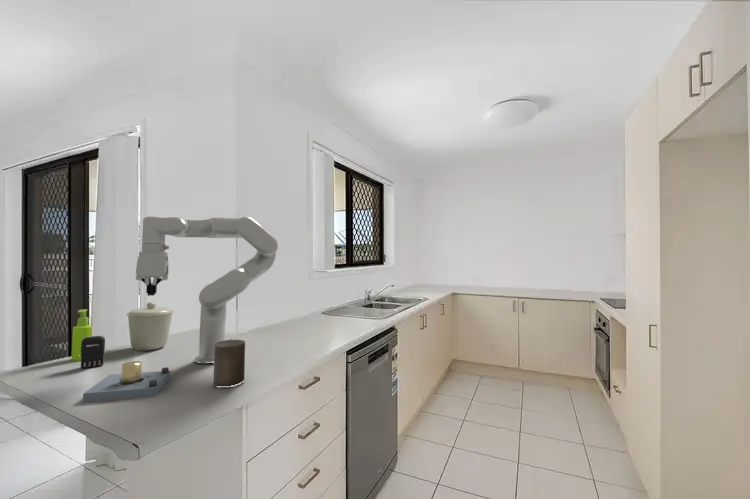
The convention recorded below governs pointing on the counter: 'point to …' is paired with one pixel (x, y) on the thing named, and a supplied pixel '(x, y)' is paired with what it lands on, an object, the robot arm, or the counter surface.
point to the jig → (127, 387)
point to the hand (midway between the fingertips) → (151, 295)
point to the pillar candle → (229, 362)
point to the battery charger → (92, 351)
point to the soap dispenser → (80, 334)
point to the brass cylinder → (131, 372)
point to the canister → (149, 327)
